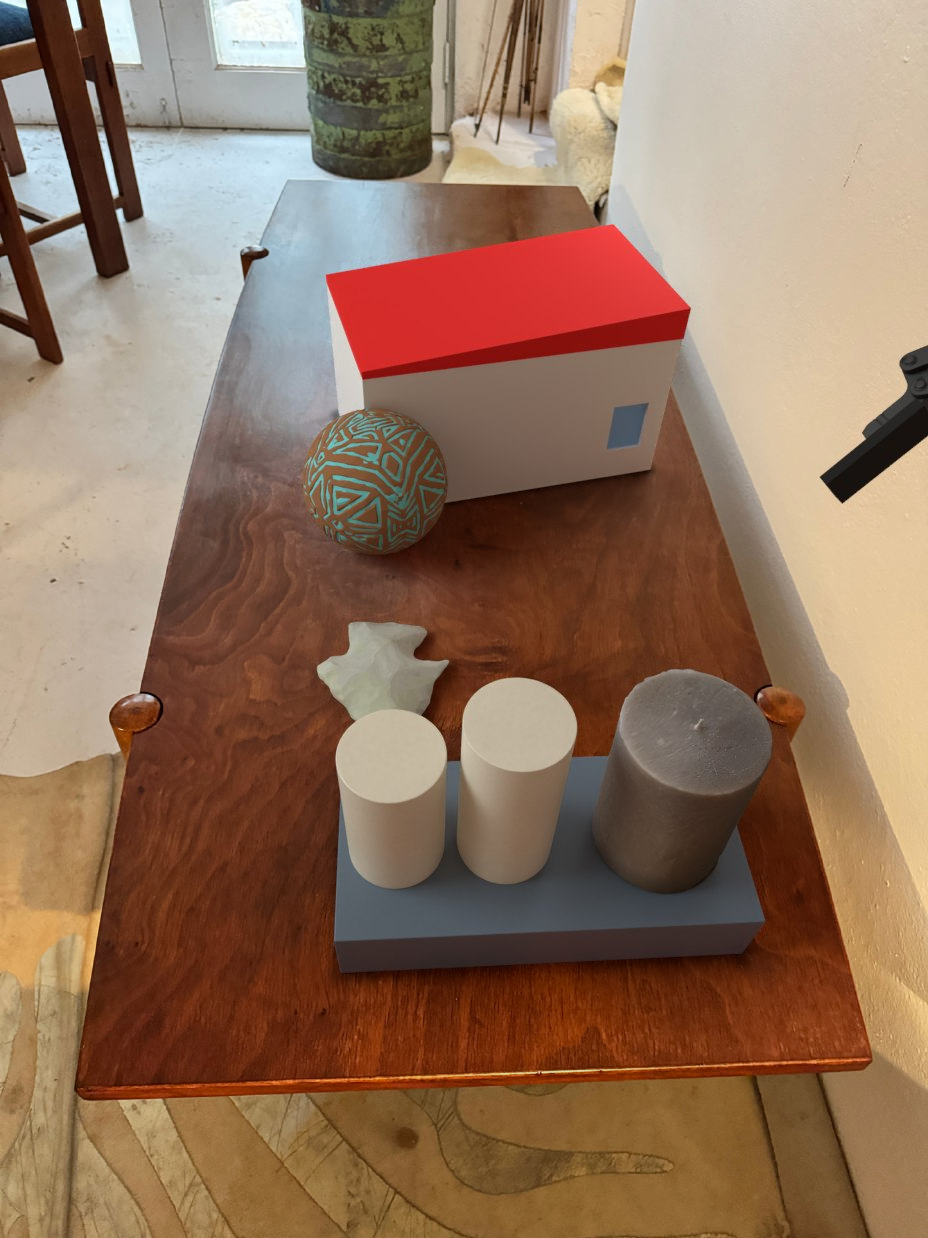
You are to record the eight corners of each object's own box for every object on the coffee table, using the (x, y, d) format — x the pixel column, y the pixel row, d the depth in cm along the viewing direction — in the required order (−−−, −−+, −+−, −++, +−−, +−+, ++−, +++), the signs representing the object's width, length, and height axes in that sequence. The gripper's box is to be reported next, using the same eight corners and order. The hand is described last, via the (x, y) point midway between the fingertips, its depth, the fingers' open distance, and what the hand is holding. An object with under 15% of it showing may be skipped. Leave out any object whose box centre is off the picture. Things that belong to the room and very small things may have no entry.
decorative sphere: (339, 601, 86) (326, 486, 75) (291, 514, 95) (273, 399, 84) (469, 558, 91) (475, 444, 80) (412, 479, 100) (410, 366, 89)
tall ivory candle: (570, 842, 63) (601, 725, 51) (504, 904, 59) (521, 793, 48) (503, 781, 66) (518, 659, 55) (437, 837, 62) (438, 719, 51)
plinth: (697, 790, 73) (714, 752, 68) (742, 954, 63) (766, 921, 59) (347, 803, 71) (341, 764, 66) (340, 973, 62) (333, 941, 57)
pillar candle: (740, 883, 61) (809, 771, 50) (611, 905, 59) (652, 795, 48) (691, 768, 67) (743, 646, 56) (573, 786, 66) (602, 665, 55)
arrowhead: (318, 625, 83) (312, 758, 73) (319, 602, 80) (314, 736, 70) (443, 632, 85) (454, 761, 75) (448, 609, 82) (460, 740, 73)
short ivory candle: (464, 846, 62) (470, 757, 53) (391, 909, 59) (384, 824, 50) (402, 785, 65) (397, 691, 56) (329, 841, 62) (312, 750, 53)
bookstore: (653, 469, 103) (693, 307, 87) (371, 514, 96) (360, 347, 80) (590, 377, 116) (615, 223, 101) (338, 411, 109) (323, 251, 93)
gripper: (1600, 464, 34) (1090, 765, 41) (1103, 212, 49) (800, 463, 57) (1662, 363, 28) (1066, 728, 36) (1085, 117, 44) (755, 407, 52)
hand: (902, 566), depth 46 cm, fingers open, 13 cm apart
